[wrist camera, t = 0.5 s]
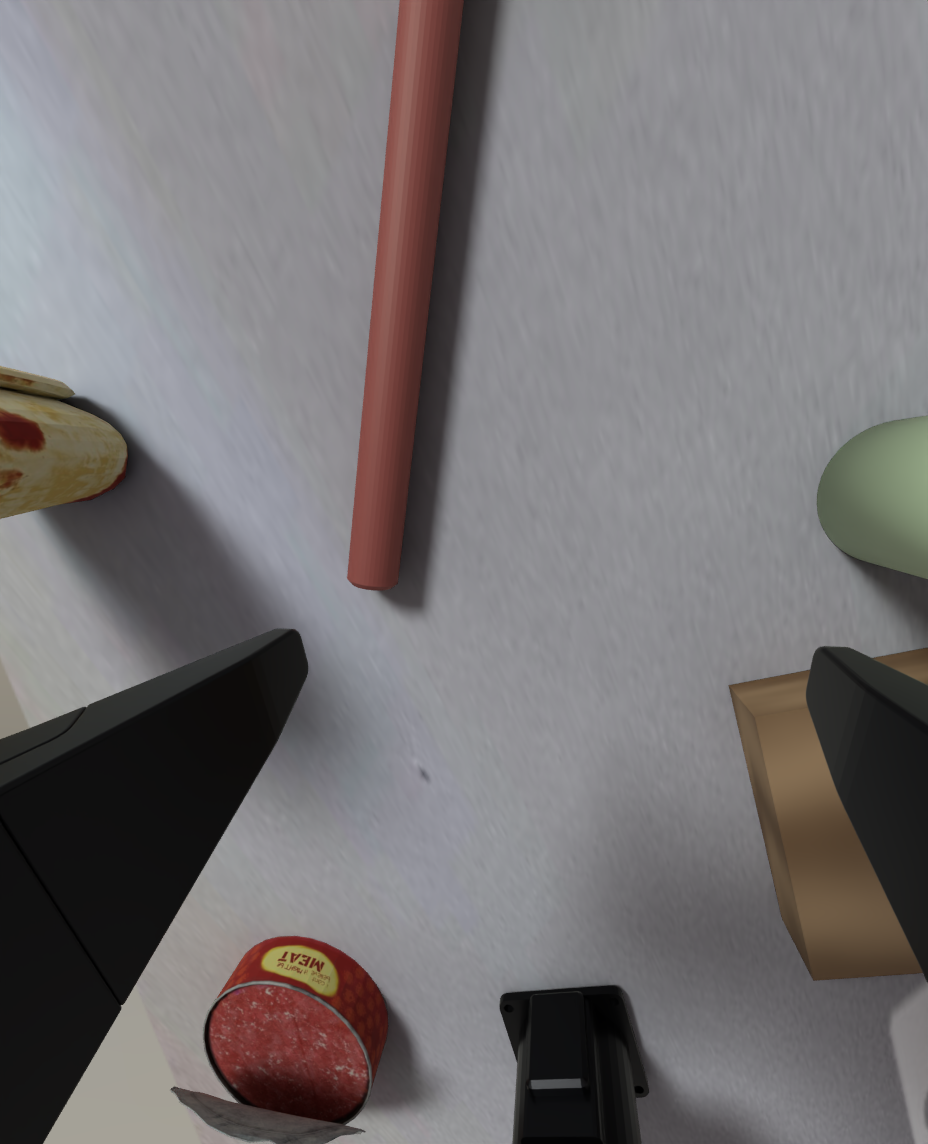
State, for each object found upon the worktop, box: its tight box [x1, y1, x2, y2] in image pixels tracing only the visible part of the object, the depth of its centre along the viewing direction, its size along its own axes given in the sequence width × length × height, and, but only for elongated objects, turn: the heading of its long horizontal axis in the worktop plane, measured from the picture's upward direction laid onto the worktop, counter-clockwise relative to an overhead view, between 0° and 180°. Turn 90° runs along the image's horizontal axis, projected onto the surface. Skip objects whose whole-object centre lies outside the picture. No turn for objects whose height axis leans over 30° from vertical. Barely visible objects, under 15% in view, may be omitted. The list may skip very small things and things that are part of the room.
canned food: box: [170, 936, 388, 1144], centre depth 27 cm, size 11×10×10 cm
